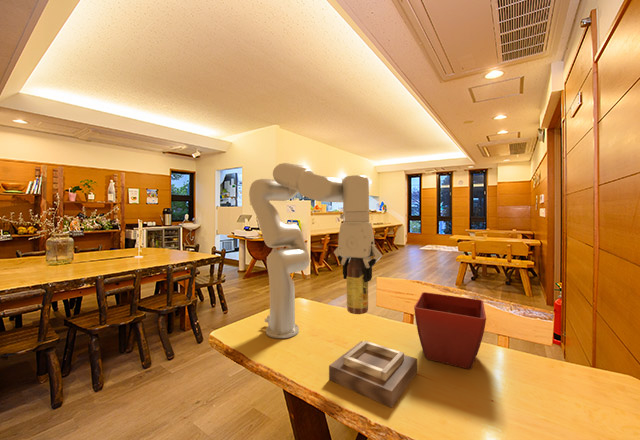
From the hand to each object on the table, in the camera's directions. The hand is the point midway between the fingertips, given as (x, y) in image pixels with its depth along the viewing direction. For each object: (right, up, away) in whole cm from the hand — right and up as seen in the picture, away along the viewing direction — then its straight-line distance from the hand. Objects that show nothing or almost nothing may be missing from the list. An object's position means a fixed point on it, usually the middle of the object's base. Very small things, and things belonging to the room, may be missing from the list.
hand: (357, 279), depth 81 cm
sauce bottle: (0, -10, 0) cm, 10 cm away
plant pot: (+31, -26, +8) cm, 41 cm away
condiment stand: (+4, -26, -4) cm, 27 cm away
